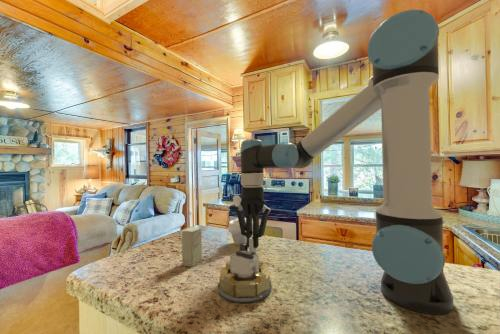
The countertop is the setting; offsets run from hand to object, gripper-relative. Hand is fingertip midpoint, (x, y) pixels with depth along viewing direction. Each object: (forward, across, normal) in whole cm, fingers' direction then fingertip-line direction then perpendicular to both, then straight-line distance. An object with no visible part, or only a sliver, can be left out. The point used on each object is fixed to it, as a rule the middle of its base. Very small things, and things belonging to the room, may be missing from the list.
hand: (252, 257), depth 76 cm
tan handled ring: (+3, -1, +8) cm, 9 cm away
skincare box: (+4, +22, +4) cm, 23 cm away
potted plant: (+4, +15, -22) cm, 27 cm away
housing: (+4, -3, +12) cm, 13 cm away
